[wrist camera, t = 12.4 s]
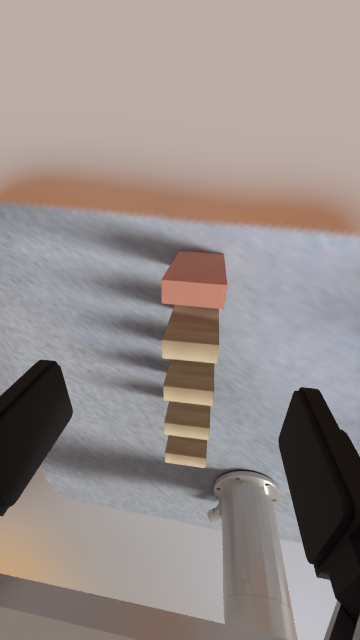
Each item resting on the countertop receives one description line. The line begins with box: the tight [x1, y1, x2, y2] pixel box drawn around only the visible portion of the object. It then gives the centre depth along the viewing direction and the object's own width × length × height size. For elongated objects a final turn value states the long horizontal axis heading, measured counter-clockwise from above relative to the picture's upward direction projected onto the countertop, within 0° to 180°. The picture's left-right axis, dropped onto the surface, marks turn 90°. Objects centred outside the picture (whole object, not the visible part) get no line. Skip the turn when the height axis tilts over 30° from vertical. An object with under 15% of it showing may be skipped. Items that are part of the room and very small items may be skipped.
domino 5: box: [165, 435, 207, 468], centre depth 33 cm, size 2×5×10 cm, turn 89°
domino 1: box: [162, 251, 227, 309], centre depth 23 cm, size 2×5×10 cm, turn 88°
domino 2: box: [162, 305, 219, 363], centre depth 25 cm, size 2×5×10 cm, turn 89°
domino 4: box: [164, 401, 210, 440], centre depth 31 cm, size 2×5×10 cm, turn 89°
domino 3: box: [163, 359, 214, 406], centre depth 28 cm, size 2×5×10 cm, turn 89°
